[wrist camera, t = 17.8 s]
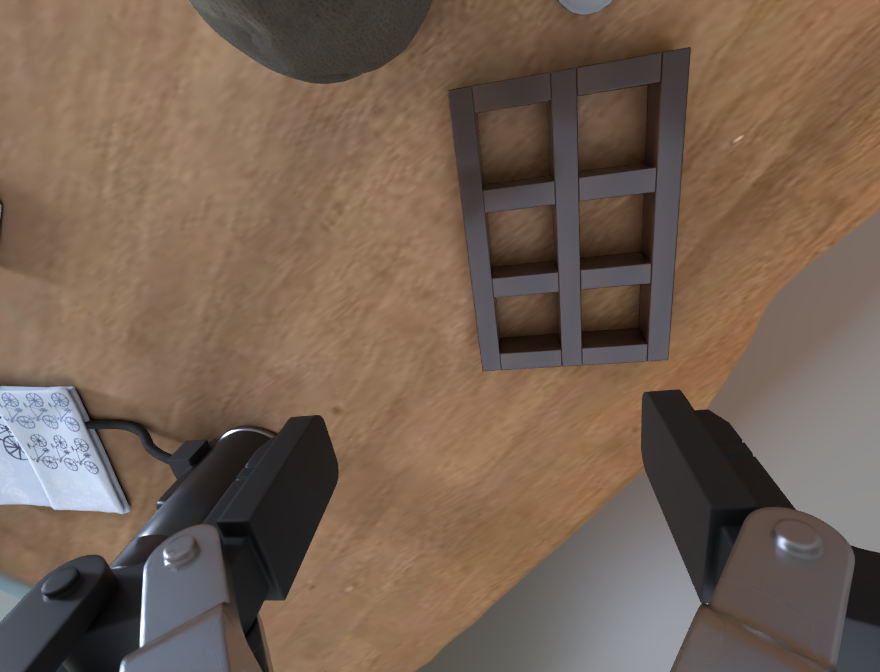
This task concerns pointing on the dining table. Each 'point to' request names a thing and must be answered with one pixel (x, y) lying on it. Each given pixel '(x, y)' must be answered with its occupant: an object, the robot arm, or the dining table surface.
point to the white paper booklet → (53, 453)
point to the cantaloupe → (317, 33)
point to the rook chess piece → (585, 5)
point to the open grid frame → (577, 213)
